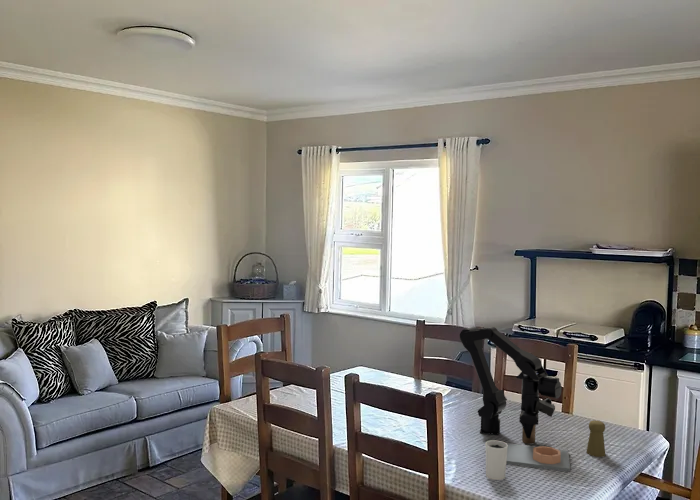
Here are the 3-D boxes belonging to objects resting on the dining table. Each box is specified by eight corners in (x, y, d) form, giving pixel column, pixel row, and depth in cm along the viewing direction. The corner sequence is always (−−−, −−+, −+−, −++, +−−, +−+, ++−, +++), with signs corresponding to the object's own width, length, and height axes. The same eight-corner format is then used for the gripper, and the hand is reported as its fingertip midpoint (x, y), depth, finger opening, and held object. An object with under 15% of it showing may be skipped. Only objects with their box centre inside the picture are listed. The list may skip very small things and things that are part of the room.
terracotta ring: (532, 461, 203) (533, 454, 203) (533, 452, 211) (533, 445, 211) (560, 465, 201) (560, 457, 200) (559, 455, 209) (560, 448, 208)
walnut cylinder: (521, 443, 222) (522, 420, 222) (522, 438, 227) (522, 416, 226) (534, 444, 221) (535, 422, 221) (535, 440, 225) (535, 418, 225)
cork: (607, 457, 210) (608, 425, 209) (587, 456, 211) (589, 423, 211) (603, 451, 216) (604, 419, 215) (585, 449, 217) (586, 417, 216)
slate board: (504, 463, 204) (504, 460, 204) (507, 446, 219) (507, 443, 219) (569, 471, 198) (570, 468, 198) (568, 453, 213) (568, 450, 213)
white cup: (481, 471, 197) (482, 440, 196) (502, 471, 198) (503, 440, 197) (488, 481, 190) (489, 448, 190) (509, 480, 191) (510, 448, 190)
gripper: (554, 402, 211) (553, 448, 212) (553, 387, 229) (552, 430, 230) (520, 399, 215) (518, 444, 216) (521, 384, 233) (520, 426, 233)
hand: (528, 436), depth 224 cm, fingers closed on walnut cylinder, 4 cm apart
